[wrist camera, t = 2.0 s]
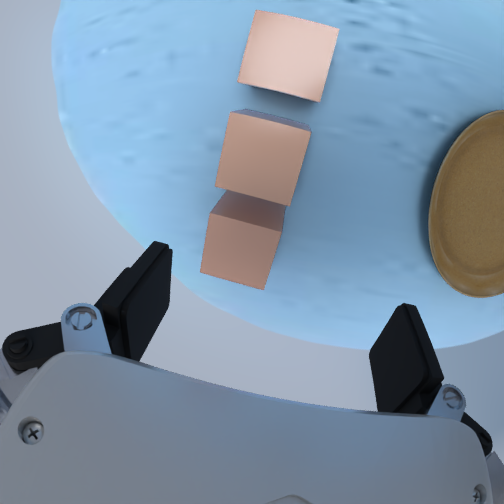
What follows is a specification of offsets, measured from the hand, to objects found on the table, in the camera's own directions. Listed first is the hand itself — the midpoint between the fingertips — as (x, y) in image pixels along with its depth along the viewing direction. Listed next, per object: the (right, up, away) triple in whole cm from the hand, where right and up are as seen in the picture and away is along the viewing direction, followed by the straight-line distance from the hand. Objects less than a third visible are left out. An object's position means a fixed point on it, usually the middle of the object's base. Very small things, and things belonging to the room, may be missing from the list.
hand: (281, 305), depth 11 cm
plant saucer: (+29, +8, +16) cm, 34 cm away
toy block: (+1, +13, +18) cm, 22 cm away
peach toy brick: (+3, +20, +13) cm, 24 cm away
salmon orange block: (-1, +5, +22) cm, 23 cm away
